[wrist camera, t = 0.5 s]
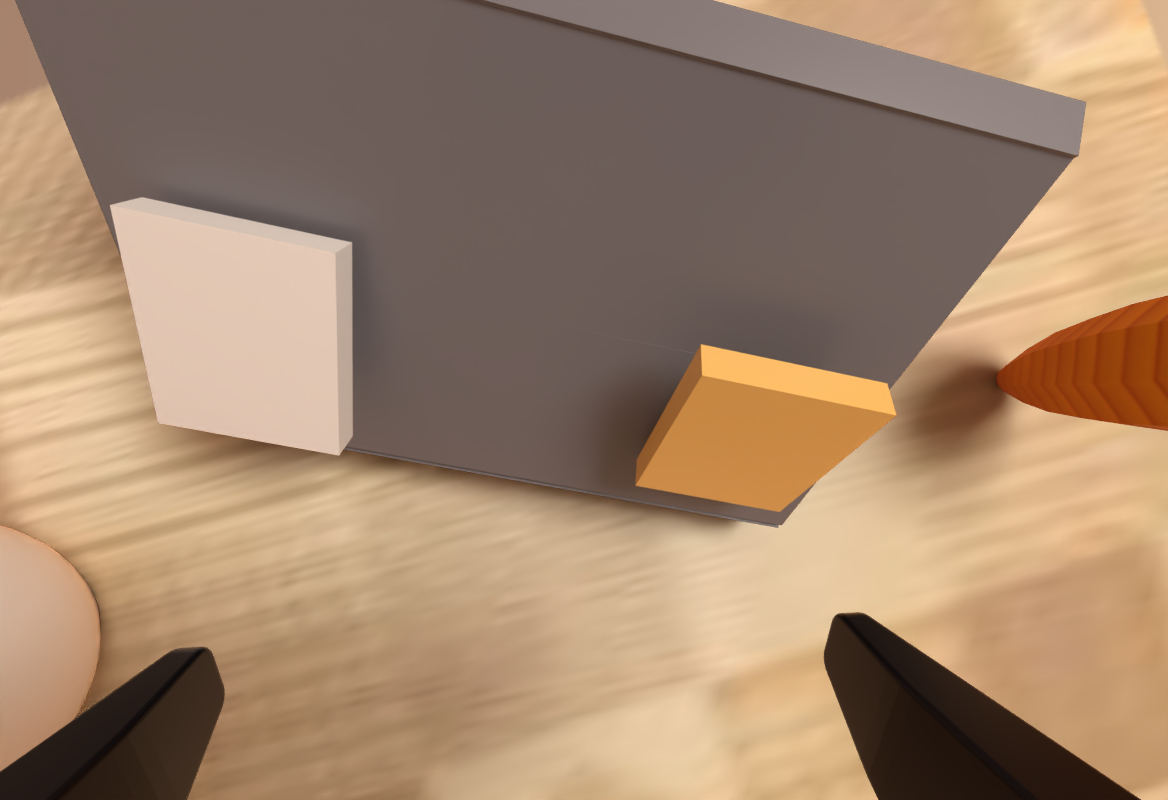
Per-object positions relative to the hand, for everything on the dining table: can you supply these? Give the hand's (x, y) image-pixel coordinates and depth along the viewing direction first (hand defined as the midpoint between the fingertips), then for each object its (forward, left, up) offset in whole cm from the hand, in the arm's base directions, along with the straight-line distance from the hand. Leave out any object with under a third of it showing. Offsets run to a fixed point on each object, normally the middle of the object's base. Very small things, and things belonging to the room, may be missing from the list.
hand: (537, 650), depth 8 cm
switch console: (+5, +3, -15) cm, 16 cm away
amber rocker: (+6, -4, -10) cm, 12 cm away
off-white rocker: (0, +9, -9) cm, 13 cm away
